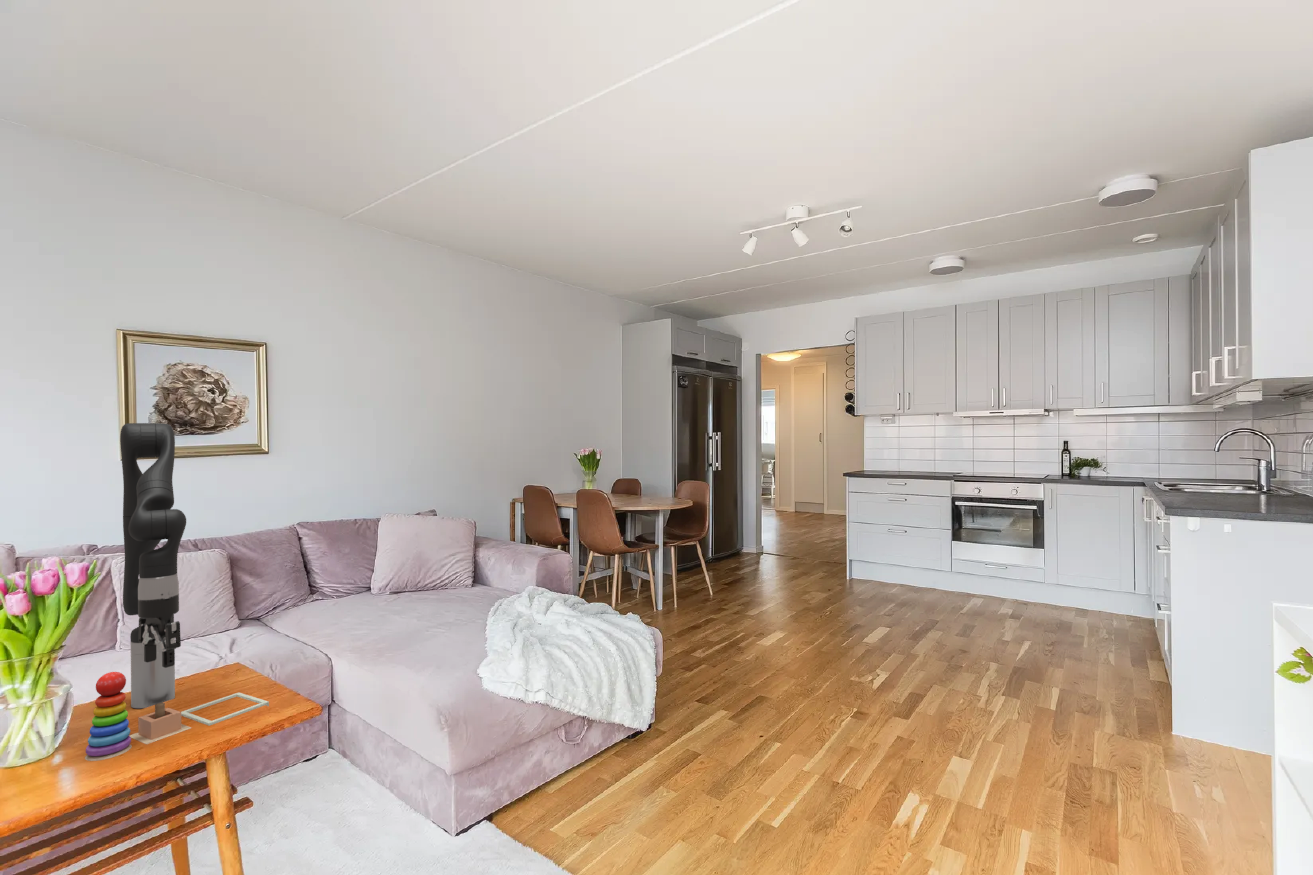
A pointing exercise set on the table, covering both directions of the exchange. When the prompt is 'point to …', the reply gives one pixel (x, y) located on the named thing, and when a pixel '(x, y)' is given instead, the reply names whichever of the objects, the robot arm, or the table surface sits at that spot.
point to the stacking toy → (109, 720)
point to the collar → (159, 724)
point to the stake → (158, 713)
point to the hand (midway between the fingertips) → (159, 663)
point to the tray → (208, 722)
